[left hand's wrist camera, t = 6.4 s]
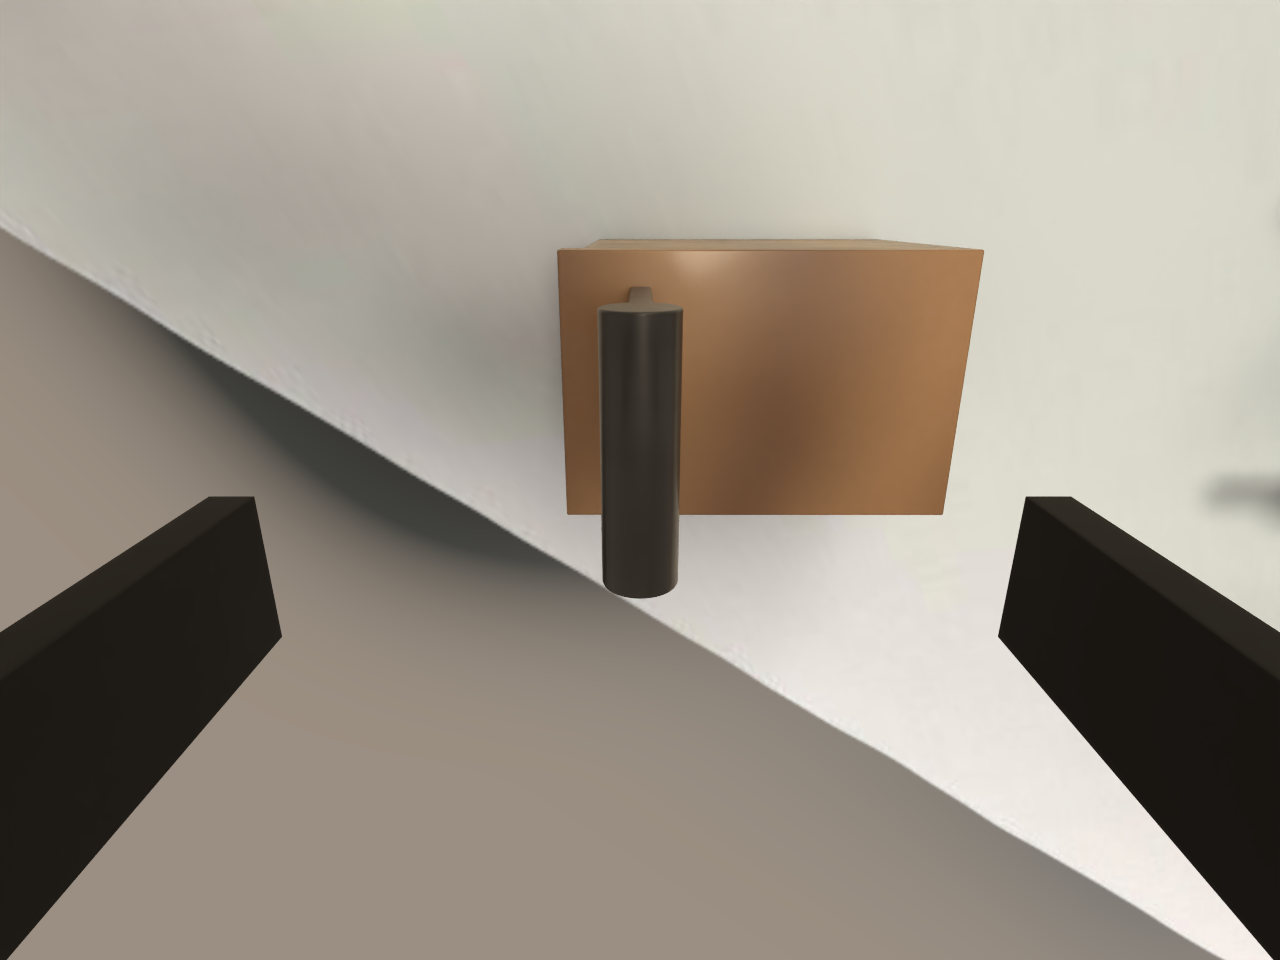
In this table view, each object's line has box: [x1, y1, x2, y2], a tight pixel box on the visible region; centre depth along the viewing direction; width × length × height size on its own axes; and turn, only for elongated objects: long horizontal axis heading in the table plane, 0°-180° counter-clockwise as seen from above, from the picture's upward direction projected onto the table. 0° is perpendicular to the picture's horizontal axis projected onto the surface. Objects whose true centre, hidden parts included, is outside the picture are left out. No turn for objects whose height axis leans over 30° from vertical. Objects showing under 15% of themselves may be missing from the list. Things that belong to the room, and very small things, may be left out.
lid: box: [557, 248, 984, 598], centre depth 22 cm, size 14×9×9 cm
